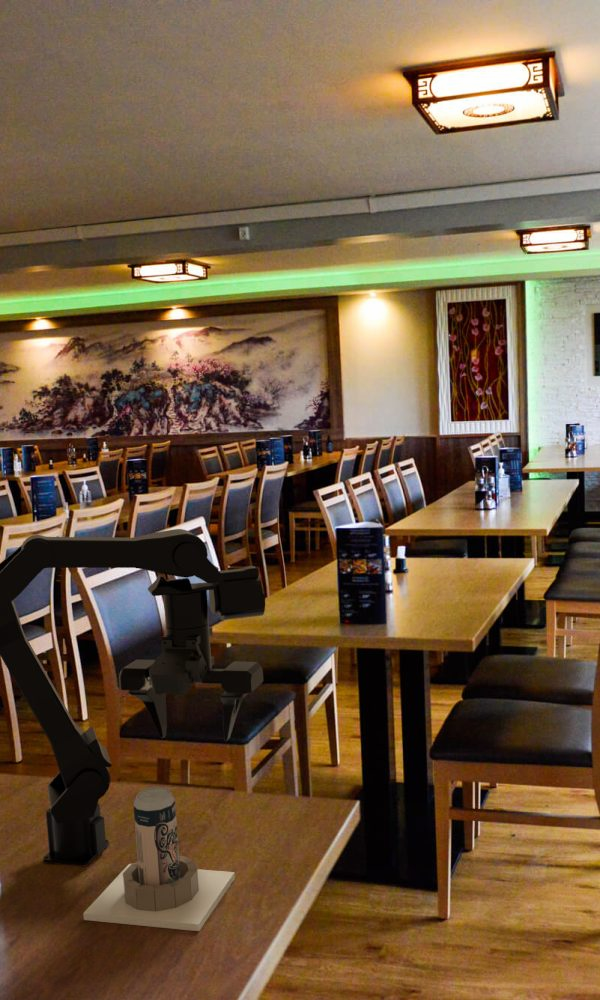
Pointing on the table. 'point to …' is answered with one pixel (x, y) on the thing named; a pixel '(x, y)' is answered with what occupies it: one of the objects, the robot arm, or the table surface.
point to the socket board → (167, 917)
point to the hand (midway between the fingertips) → (194, 738)
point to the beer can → (156, 837)
